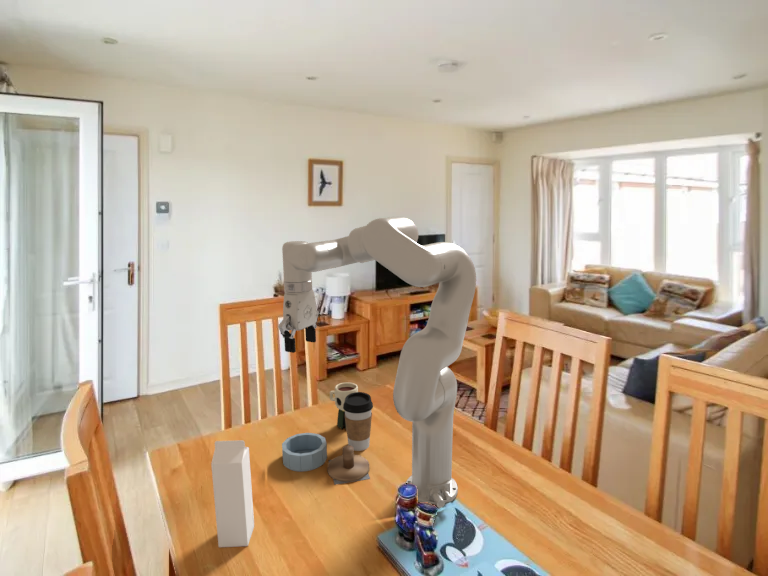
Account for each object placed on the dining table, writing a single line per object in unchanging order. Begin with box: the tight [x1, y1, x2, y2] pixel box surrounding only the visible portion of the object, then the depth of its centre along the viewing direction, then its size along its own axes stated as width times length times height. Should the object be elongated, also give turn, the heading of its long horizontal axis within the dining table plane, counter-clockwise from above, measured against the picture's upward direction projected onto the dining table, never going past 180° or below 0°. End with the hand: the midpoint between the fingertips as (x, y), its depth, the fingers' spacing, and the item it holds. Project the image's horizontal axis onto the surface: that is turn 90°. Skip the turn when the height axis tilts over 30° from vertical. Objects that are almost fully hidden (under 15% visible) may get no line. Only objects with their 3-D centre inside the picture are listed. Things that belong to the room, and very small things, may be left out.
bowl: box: [281, 432, 328, 472], centre depth 125 cm, size 12×12×5 cm
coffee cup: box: [343, 391, 374, 452], centre depth 131 cm, size 8×8×15 cm
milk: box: [210, 439, 255, 548], centre depth 95 cm, size 6×6×22 cm
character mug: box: [329, 382, 359, 430], centre depth 143 cm, size 11×7×13 cm, turn 76°
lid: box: [327, 444, 370, 483], centre depth 120 cm, size 11×11×6 cm
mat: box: [328, 459, 371, 485], centre depth 120 cm, size 11×9×1 cm
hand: (301, 346), depth 130 cm, fingers open, 9 cm apart
